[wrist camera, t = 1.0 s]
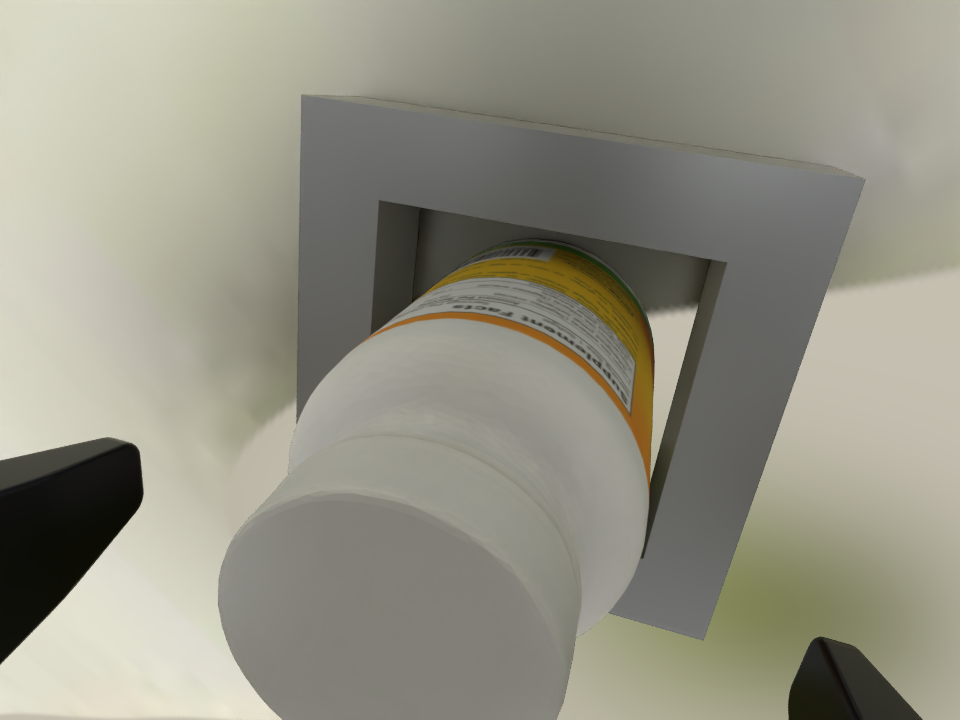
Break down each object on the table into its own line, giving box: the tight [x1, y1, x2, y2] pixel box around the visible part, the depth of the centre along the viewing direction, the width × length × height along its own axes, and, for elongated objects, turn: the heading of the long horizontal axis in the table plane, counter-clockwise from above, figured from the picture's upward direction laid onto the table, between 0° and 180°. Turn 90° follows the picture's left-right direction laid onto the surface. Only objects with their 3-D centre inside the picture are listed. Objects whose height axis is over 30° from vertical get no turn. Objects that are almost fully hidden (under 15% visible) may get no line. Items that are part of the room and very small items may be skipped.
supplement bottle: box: [218, 239, 655, 720], centre depth 11 cm, size 5×5×10 cm
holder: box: [296, 95, 866, 640], centre depth 14 cm, size 10×10×2 cm
